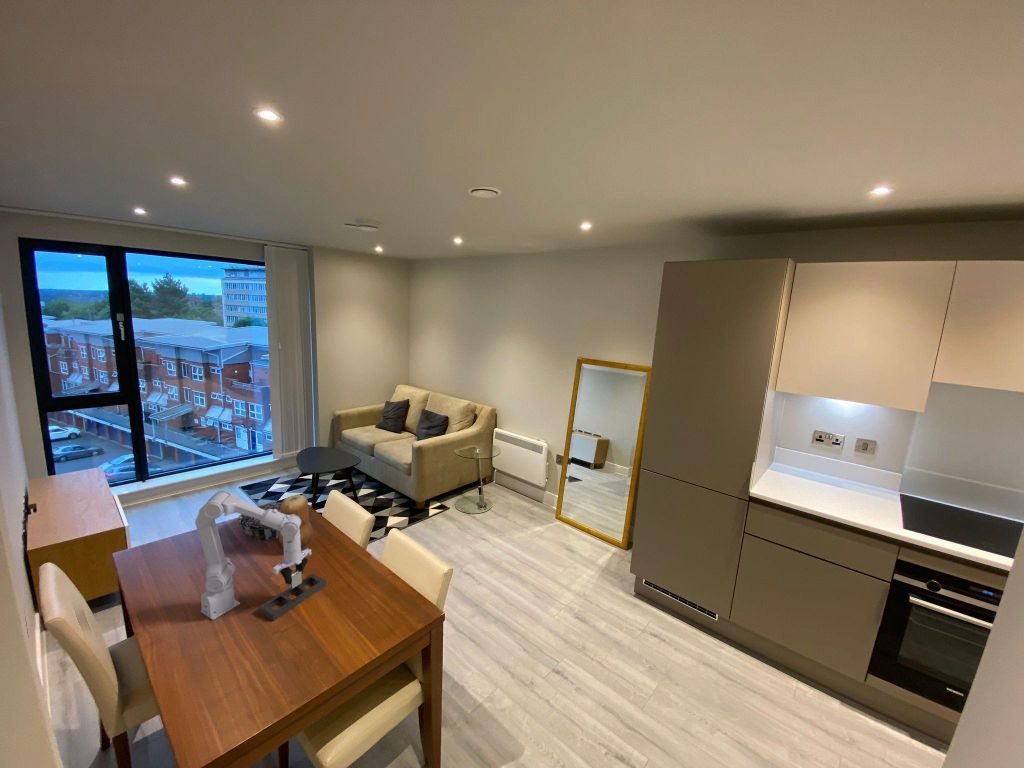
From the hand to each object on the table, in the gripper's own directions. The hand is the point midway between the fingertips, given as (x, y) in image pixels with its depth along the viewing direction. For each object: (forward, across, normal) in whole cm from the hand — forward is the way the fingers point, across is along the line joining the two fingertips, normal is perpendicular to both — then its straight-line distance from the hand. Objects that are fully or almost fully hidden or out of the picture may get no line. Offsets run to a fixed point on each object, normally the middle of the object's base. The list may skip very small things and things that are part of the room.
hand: (293, 580), depth 157 cm
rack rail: (+8, 0, 0) cm, 8 cm away
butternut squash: (+8, +22, +29) cm, 37 cm away
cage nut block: (+2, 0, 0) cm, 2 cm away
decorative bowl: (+8, +25, +52) cm, 59 cm away
